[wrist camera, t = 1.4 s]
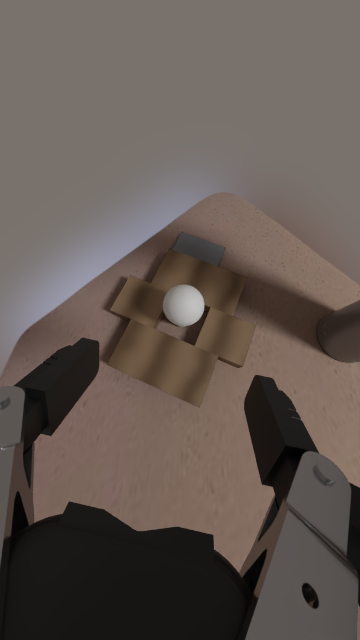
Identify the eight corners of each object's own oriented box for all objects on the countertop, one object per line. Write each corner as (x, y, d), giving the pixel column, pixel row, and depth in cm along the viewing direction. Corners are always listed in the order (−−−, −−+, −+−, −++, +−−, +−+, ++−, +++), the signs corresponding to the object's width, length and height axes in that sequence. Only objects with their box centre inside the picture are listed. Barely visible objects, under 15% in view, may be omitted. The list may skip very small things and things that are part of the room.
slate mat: (224, 249, 42) (225, 247, 42) (210, 284, 39) (210, 282, 39) (181, 233, 43) (181, 231, 43) (164, 266, 41) (164, 264, 40)
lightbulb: (192, 342, 36) (198, 324, 25) (160, 331, 36) (154, 309, 26) (202, 313, 38) (213, 284, 27) (172, 302, 38) (171, 270, 28)
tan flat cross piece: (263, 291, 39) (268, 285, 37) (222, 417, 32) (225, 419, 30) (151, 249, 42) (150, 241, 39) (90, 356, 35) (83, 354, 32)
